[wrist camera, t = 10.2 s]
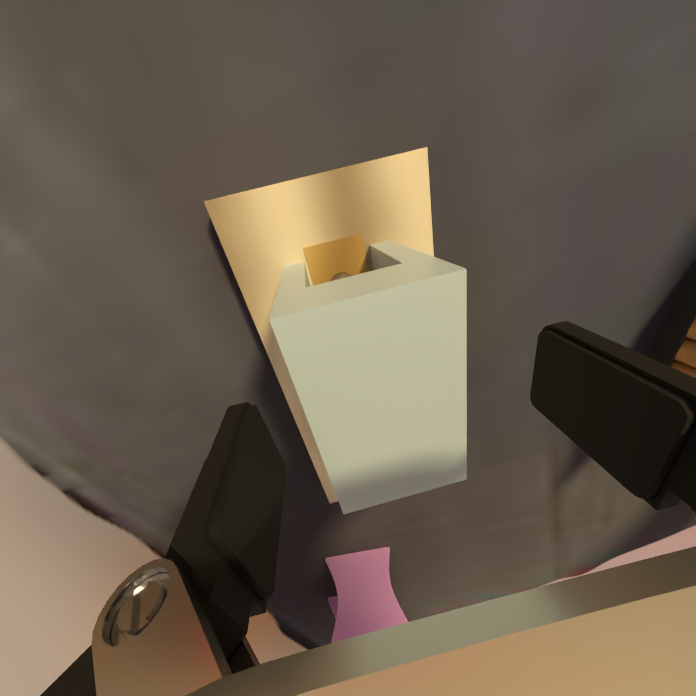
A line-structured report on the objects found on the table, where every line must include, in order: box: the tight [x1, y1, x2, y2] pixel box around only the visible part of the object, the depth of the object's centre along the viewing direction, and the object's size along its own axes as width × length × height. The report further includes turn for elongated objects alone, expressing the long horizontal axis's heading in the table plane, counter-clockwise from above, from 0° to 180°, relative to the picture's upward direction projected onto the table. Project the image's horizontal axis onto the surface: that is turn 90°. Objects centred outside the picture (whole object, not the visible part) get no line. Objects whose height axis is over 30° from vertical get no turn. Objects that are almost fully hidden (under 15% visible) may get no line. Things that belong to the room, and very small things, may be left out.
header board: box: [204, 147, 434, 503], centre depth 14 cm, size 9×20×5 cm, turn 12°
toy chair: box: [325, 547, 408, 643], centre depth 21 cm, size 8×9×15 cm
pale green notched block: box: [269, 240, 467, 514], centre depth 11 cm, size 5×8×6 cm, turn 12°
